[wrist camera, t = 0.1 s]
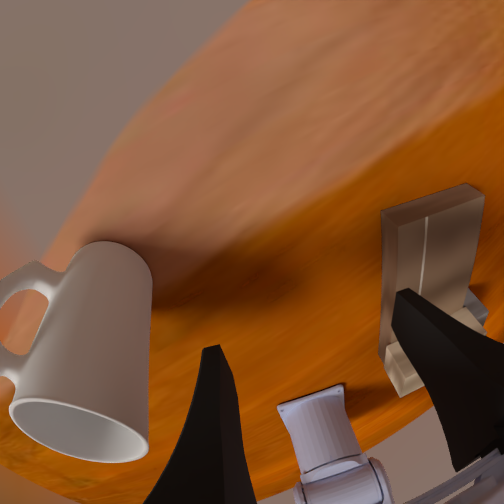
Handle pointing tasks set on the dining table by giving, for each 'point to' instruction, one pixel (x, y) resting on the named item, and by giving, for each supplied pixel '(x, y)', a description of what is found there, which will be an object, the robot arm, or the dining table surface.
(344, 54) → the dining table surface
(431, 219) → the plank
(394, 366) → the stepped beige block
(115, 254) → the mug
